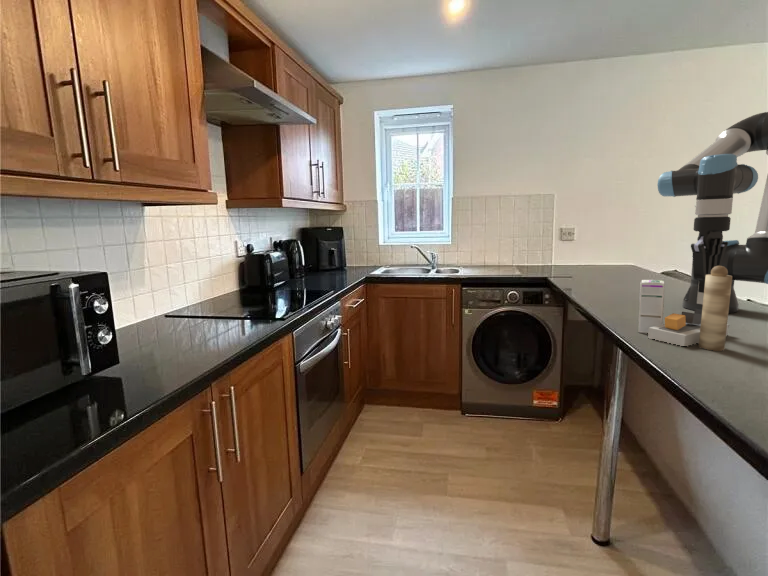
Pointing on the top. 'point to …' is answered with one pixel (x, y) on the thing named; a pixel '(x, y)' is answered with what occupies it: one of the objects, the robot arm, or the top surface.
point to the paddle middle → (692, 318)
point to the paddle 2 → (698, 311)
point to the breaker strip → (677, 334)
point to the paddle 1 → (675, 321)
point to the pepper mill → (715, 309)
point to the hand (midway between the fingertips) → (703, 303)
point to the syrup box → (650, 304)
